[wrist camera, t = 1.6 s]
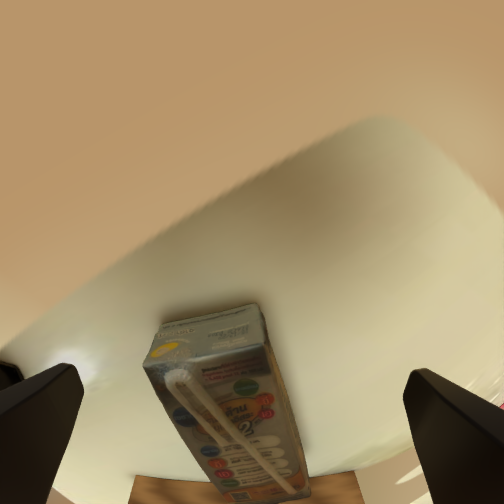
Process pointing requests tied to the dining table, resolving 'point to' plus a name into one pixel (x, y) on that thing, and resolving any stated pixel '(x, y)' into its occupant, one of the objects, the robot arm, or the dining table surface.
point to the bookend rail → (210, 500)
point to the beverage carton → (230, 404)
